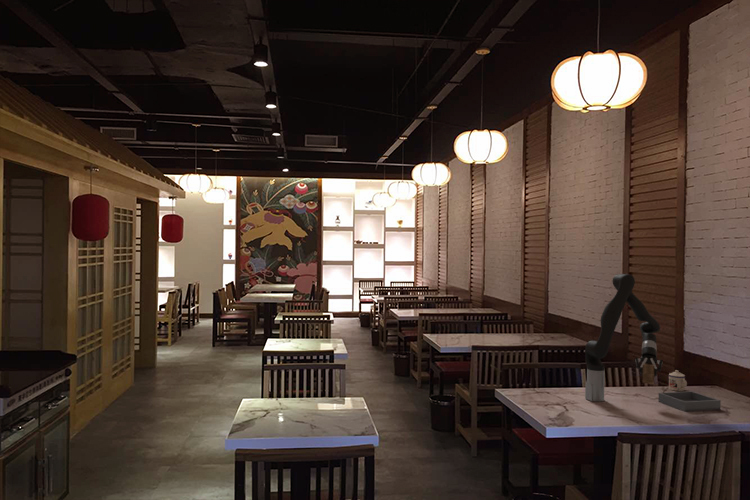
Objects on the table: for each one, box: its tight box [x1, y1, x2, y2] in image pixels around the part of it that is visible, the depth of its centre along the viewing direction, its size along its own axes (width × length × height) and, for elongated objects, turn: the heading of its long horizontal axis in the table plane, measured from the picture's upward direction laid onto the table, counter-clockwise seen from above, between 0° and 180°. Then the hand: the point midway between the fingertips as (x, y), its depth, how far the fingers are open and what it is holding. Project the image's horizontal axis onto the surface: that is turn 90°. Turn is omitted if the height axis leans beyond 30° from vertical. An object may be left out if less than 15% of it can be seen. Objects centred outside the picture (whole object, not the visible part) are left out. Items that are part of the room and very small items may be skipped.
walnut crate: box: [642, 363, 655, 385], centre depth 307 cm, size 6×6×10 cm
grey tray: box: [658, 390, 722, 413], centre depth 309 cm, size 22×20×5 cm
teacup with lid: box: [668, 369, 688, 392], centre depth 344 cm, size 12×9×12 cm
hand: (648, 375), depth 305 cm, fingers closed on walnut crate, 5 cm apart
